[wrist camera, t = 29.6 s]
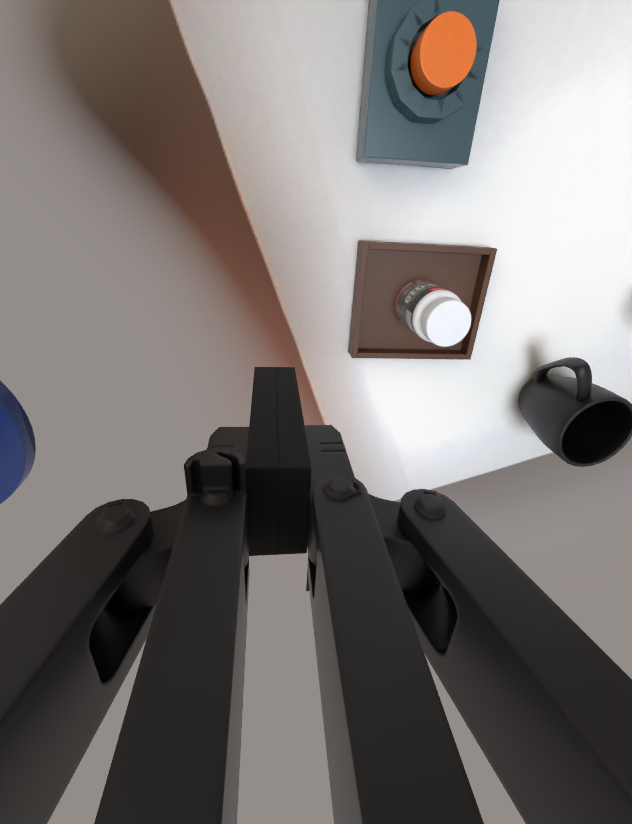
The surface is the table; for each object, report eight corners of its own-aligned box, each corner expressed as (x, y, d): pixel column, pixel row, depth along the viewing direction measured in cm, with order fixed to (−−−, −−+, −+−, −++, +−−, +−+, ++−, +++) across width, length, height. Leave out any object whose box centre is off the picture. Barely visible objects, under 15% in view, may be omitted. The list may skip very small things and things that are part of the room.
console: (452, 168, 36) (478, 162, 31) (355, 161, 34) (368, 153, 30) (484, -13, 30) (521, -52, 26) (371, -29, 29) (390, -72, 25)
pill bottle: (431, 271, 39) (470, 285, 32) (443, 314, 41) (481, 336, 34) (388, 291, 39) (415, 309, 32) (401, 333, 42) (430, 358, 34)
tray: (348, 352, 42) (351, 358, 41) (358, 240, 37) (362, 241, 36) (462, 353, 44) (470, 359, 42) (487, 247, 39) (497, 248, 37)
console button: (457, 98, 29) (469, 90, 28) (406, 93, 29) (415, 85, 27) (469, 27, 28) (483, 14, 26) (415, 20, 27) (425, 7, 25)
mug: (566, 323, 44) (637, 349, 35) (575, 408, 49) (638, 449, 41) (496, 352, 44) (549, 384, 36) (512, 433, 50) (562, 478, 41)
